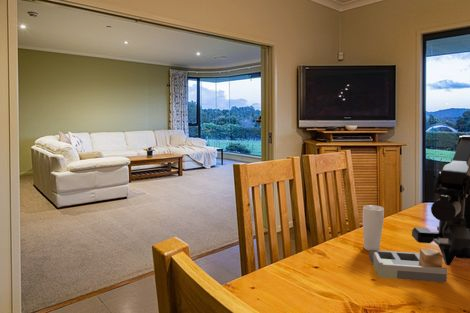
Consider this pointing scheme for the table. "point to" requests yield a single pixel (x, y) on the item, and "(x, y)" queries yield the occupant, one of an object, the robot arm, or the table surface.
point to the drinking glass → (372, 226)
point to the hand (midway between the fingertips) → (447, 264)
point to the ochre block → (430, 258)
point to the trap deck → (404, 266)
